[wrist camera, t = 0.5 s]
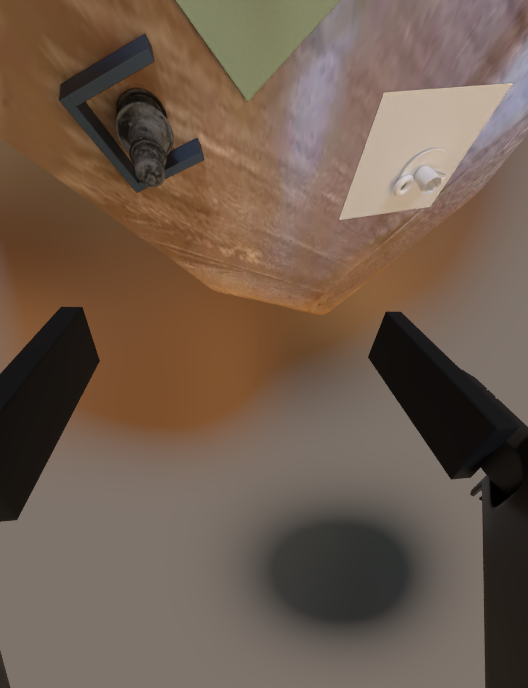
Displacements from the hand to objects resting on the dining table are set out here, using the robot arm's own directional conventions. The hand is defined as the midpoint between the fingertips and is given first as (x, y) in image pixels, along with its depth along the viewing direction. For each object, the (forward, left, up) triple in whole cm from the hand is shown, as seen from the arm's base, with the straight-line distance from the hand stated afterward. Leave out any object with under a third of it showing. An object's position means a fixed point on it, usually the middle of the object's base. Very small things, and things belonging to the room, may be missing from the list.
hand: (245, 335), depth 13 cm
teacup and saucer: (+36, +17, -34) cm, 52 cm away
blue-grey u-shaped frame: (+3, -8, -34) cm, 35 cm away
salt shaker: (+3, -8, -34) cm, 35 cm away
